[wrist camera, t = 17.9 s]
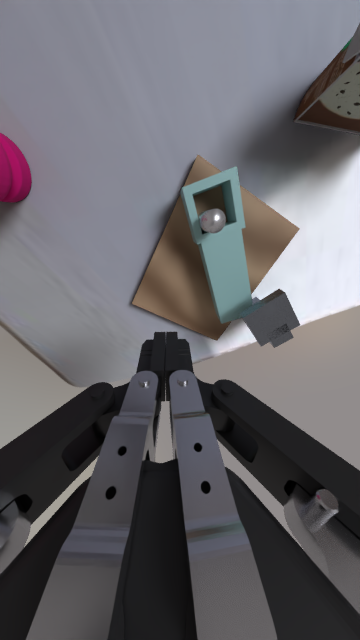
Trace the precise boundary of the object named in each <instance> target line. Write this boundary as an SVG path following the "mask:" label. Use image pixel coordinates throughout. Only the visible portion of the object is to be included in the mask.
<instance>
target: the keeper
mask: <svg viewBox="0 0 360 640" xmlns="http://www.w3.org/2000/svg"><path fill="white" fill-rule="evenodd" d="M252 303H253V305H252V306H250V307H249V308H247V309H246V310H244V311H242V312H241V313H240V315H241V317H242V318H243V320H244V321H245V323H246V324H247V326H248V328H249V329H250V331H251V332H252V334H253V335H254V337H255V338H256V340H257V342H258V343H259V344H260V345H261V346H263V345H265V344H266V343H268V342H270V343H271V344H272V345H273V347H274V348H275V347H277V346H279V345H281V344H282V343H284V342H286V341H288V340H290V339H292V338H293V335H292V334H291V332H290V330H292V329H294V328H296V327H297V326H299V325H300V324H299V321H298V319H297V317H296V315H295V313H294V311H293V309H292V306H291V304H290V302H289V300H288V298H287V296H286V294H285V292H283V291H282V290H280V289H278V290H276V291H275V292H273V293H272V294H270V295H268V296H267V297H265V298H263V299H262V300H259V299H258V298H257V297H255V298H254V299H252Z"/></svg>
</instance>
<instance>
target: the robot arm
mask: <svg viewBox="0 0 360 640" xmlns="http://www.w3.org/2000/svg"><path fill="white" fill-rule="evenodd" d="M165 384H166V401H170V423H171V435H172V447H173V460H171V461H168V462H165V463H156V462H155V451H156V443H157V435H158V428H159V420H160V411H161V401H165ZM217 439H218V440H219V441H220V442H221V443H222V444H223V446H225V447H226V448H227V449H228V451H229V452H230V453H231V454H232V455H233V456H234V457H235V458H237V460H238V461H239V462H240V463H241V464H242V465H243V466H244V467H245V468H246V469H247V470H248V471H249V472H250V473H251V474H252V475H253V476H254V477H255V478H256V479H257V480H258V481H259V482H260V483H261V484H262V485H263V486H264V487H265V488H266V489H267V490H268V491H269V492H270V493H271V494H272V495H273V496H274V497H275V498H276V499H277V500H278V501H279V502H280V503H281V504H282V505H283V506H284V514H285V519H286V522H287V524H288V526H289V528H290V530H291V531H292V534H293V535H294V536H295V538H296V539H297V540H298V542H299V543H300V544H301V546H302V547H303V549H304V550H303V549H302V548H301V547H300V546H299V544H298V543H297V542H296V541H295V540H294V539H293V538H292V537H291V536H290V534H289V533H288V532H287V531H286V530H285V529H284V527H283V526H282V525H281V524H280V523H279V522H278V520H277V519H276V518H275V517H274V516H273V515H272V514H271V512H270V511H269V510H268V509H267V508H266V507H265V506H264V504H262V502H261V501H260V500H259V499H258V498H257V497H256V495H255V494H254V493H253V492H252V491H251V490H250V489H249V488H248V486H247V485H246V484H245V483H244V482H243V481H242V480H241V478H239V477H238V476H237V475H236V474H235V473H234V472H233V471H231V470H230V469H228V468H227V467H225V466H224V463H223V460H222V456H221V453H220V449H219V445H218V442H217ZM98 456H99V457H98ZM96 457H98V460H97V462H96V465H95V468H94V471H93V473H92V476H91V477H89V478H88V479H87V480H86V481H85V482H83V483H82V484H81V485H80V486H79V487H78V488H77V489H76V490H75V491H74V492H73V493H72V495H71V496H70V497H69V498H68V499H67V500H66V501H65V502H64V504H63V505H62V506H61V507H60V508H59V509H58V510H57V511H56V512H55V514H54V515H53V516H52V517H51V518H50V519H49V520H48V521H47V523H46V524H45V525H44V526H43V527H42V528H41V529H40V530H39V532H38V533H37V534H36V535H35V536H34V537H33V538H32V539H31V541H30V542H29V543H28V544H27V545H26V546H25V547H24V545H25V543H26V541H27V539H28V536H29V532H30V526H31V524H32V523H33V522H34V521H35V520H36V519H37V518H38V517H39V516H40V515H41V514H42V513H43V512H44V511H45V510H46V509H47V508H48V507H49V506H50V505H51V504H52V503H53V502H54V501H55V499H57V498H58V497H59V496H60V495H61V494H62V492H64V491H65V489H66V488H67V487H68V486H69V485H70V484H71V483H72V482H73V481H74V480H75V479H76V478H77V477H78V476H79V475H80V474H81V473H82V472H83V471H84V470H85V469H86V468H87V467H88V466H89V465H90V464H91V462H93V461H94V460H95V459H96ZM0 640H360V471H359V470H358V469H356V468H355V467H354V466H352V465H351V464H349V463H348V462H346V461H345V460H344V459H342V458H341V457H339V456H338V455H336V454H335V453H334V452H332V451H331V450H329V449H328V448H326V447H325V446H324V445H322V444H321V443H319V442H318V441H317V440H315V439H314V438H312V437H311V436H310V435H308V434H307V433H305V432H304V431H302V430H301V429H299V428H298V427H297V426H295V425H294V424H292V423H291V422H290V421H288V420H287V419H285V418H284V417H283V416H281V415H280V414H278V413H277V412H276V411H274V410H273V409H271V408H270V407H268V406H267V405H266V404H264V403H263V402H261V401H260V400H258V399H257V398H256V397H254V396H253V395H251V394H250V393H248V392H247V391H246V390H244V389H243V388H241V387H240V386H238V385H237V384H236V383H234V382H232V381H230V380H218V381H217V382H215V383H214V385H213V384H209V383H204V382H202V381H200V380H199V379H197V378H196V376H195V375H194V372H193V366H192V360H191V353H190V347H189V343H188V342H187V341H186V340H185V339H178V337H177V332H155V333H154V340H146V341H145V342H144V343H143V344H142V348H141V353H140V358H139V363H138V367H137V372H136V374H135V375H134V376H133V377H132V378H131V381H130V382H129V383H127V384H125V385H122V386H118V387H115V388H113V387H112V385H111V384H109V383H105V382H101V383H96V384H94V385H92V386H90V387H88V388H87V389H86V390H84V391H83V392H81V393H80V394H78V395H77V396H76V397H74V398H73V399H71V400H70V401H69V402H67V403H66V404H64V405H63V406H61V407H60V408H58V409H57V410H56V411H54V412H53V413H51V414H50V415H49V416H47V417H46V418H44V419H43V420H41V421H40V422H38V423H37V424H36V425H34V426H33V427H31V428H30V429H28V430H27V431H26V432H24V433H23V434H21V435H20V436H18V437H17V438H16V439H14V440H13V441H11V442H10V443H8V444H7V445H6V446H4V447H3V448H1V449H0Z"/></svg>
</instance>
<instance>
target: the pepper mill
mask: <svg viewBox="0 0 360 640" xmlns="http://www.w3.org/2000/svg"><path fill="white" fill-rule="evenodd" d="M31 183H32V182H31V173H30V169H29V166H28V163H27V161H26V159H25V157H24V155H23V154H22V152H21V151H20V150H19V148H18V147H17V146H16V145H15V144H14V143H13V142H12V141H11V140H10V139H9V138H8V137H6V136H5V135H3V134H2V133H0V201H2V202H18V201H21V200H23V199H24V198H25V197H26V196H27V195H28V193H29V191H30V188H31Z"/></svg>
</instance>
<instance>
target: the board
mask: <svg viewBox="0 0 360 640" xmlns="http://www.w3.org/2000/svg"><path fill="white" fill-rule="evenodd" d="M220 172H221V171H220V170H219V169H217V168H216V167H214V166H213V165H212V164H210V163H209V162H208V161H206V160H205V159H204V158H202V157H201V156H199V155H197V157H196V160H195V162H194V164H193V167H192V169H191V171H190V173H189V176H188V178H187V180H186V182H185V185H184V187H185V186H187V185H190V184H192V183H195V182H198V181H200V180H203V179H205V178H208V177H210V176H213V175H215V174H218V173H220ZM240 191H241V199H242V206H243V213H244V220H245V228H242V229H241V230H242V236H243V243H244V250H245V257H246V263H247V270H248V277H249V283H250V290H251V294H252V293H253V291H254V290H255V289H256V287H257V286H258V285H259V283H260V282H261V281H262V279H263V278H264V276H265V275H266V274H267V272H268V271H269V270H270V268H271V267H272V266H273V264H274V263H275V262H276V260H277V259H278V257H279V256H280V255H281V253H282V252H283V251H284V249H285V248H286V247H287V245H288V244H289V243H290V241H291V240H292V238H293V237H294V236H295V234H296V233H297V232H298V230H299V228H298V227H297V226H295V225H294V224H292V223H291V222H290V221H288V220H287V219H286V218H284V217H283V216H281V215H280V214H279V213H277V212H276V211H275V210H273V209H272V208H271V207H269V206H268V205H266V204H265V203H264V202H262V201H261V200H260V199H258V198H257V197H256V196H254V195H253V194H251V193H250V192H249V191H247V190H246V189H245V188H243V187H242V186H240ZM193 199H194V203H195V207H196V211H197V215H198V214H199V213H200V212H203V211H207V210H211V209H220V210H221V211H223V213H224V214H225V218H226V222H228V221H227V215H226V210H225V204H224V199H223V193H222V187H221V186H218V187H216V188H213V189H211V190H208V191H205V192H203V193H200V194H198V195H195V196H193ZM226 222H225V223H226ZM201 231H203V230H201ZM132 304H134V305H136V306H139V307H141V308H143V309H145V310H148V311H150V312H152V313H155V314H157V315H159V316H161V317H164V318H166V319H168V320H171V321H173V322H175V323H178V324H180V325H182V326H184V327H187V328H189V329H191V330H194V331H196V332H198V333H200V334H203V335H205V336H207V337H210V338H212V339H214V340H218V339H219V338H220V336H221V335H222V333H223V332H224V331H225V329H226V328H227V327H228V325H229V324H230V323H231V321H229V322H226V323H223V324H221V322H220V320H219V318H218V316H217V314H216V311H215V308H214V304H213V300H212V296H211V292H210V289H209V285H208V281H207V277H206V273H205V270H204V266H203V262H202V258H201V254H200V250H199V247H198V244H196V243H195V242H193V238H192V234H191V231H190V227H189V223H188V220H187V216H186V212H185V209H184V205H183V201H182V198H181V194H180V196H179V198H178V200H177V203H176V205H175V207H174V209H173V212H172V214H171V216H170V218H169V221H168V223H167V225H166V228H165V230H164V232H163V234H162V237H161V239H160V241H159V243H158V246H157V248H156V250H155V252H154V255H153V257H152V259H151V261H150V264H149V266H148V268H147V270H146V273H145V275H144V277H143V280H142V282H141V284H140V286H139V289H138V291H137V293H136V295H135V298H134V300H133V302H132Z"/></svg>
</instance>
